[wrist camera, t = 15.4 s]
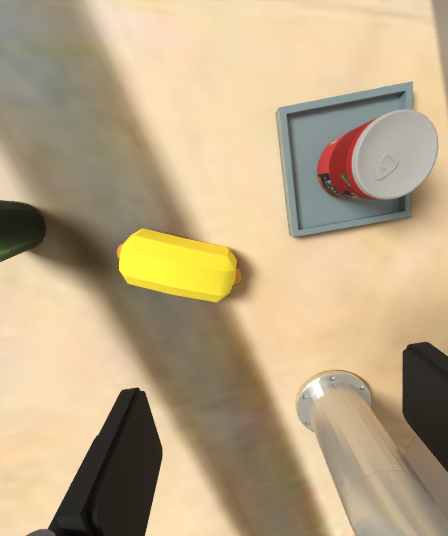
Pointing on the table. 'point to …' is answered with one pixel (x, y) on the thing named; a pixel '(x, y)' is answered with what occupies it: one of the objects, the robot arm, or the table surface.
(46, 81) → the table surface
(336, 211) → the tray
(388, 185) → the canned food
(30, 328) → the table surface
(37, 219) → the potion bottle
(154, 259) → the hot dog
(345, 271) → the table surface
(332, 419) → the robot arm
